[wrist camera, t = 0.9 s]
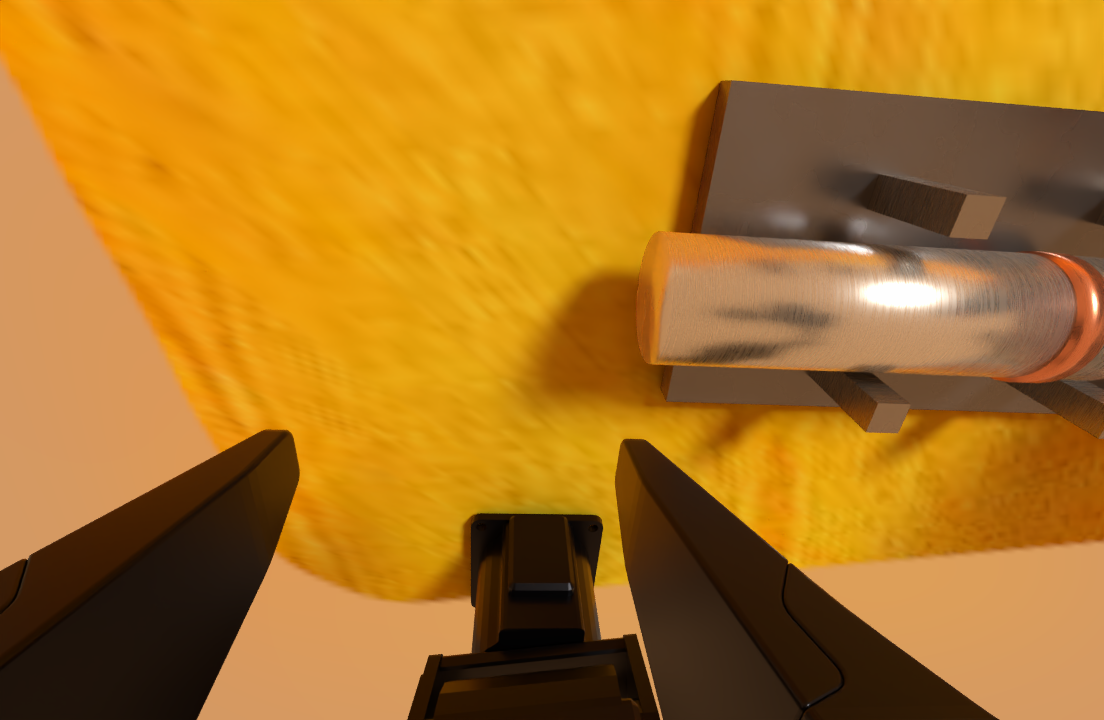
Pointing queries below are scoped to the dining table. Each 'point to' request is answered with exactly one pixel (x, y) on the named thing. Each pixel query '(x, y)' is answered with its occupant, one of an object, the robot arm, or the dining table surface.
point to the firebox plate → (898, 220)
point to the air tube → (870, 308)
